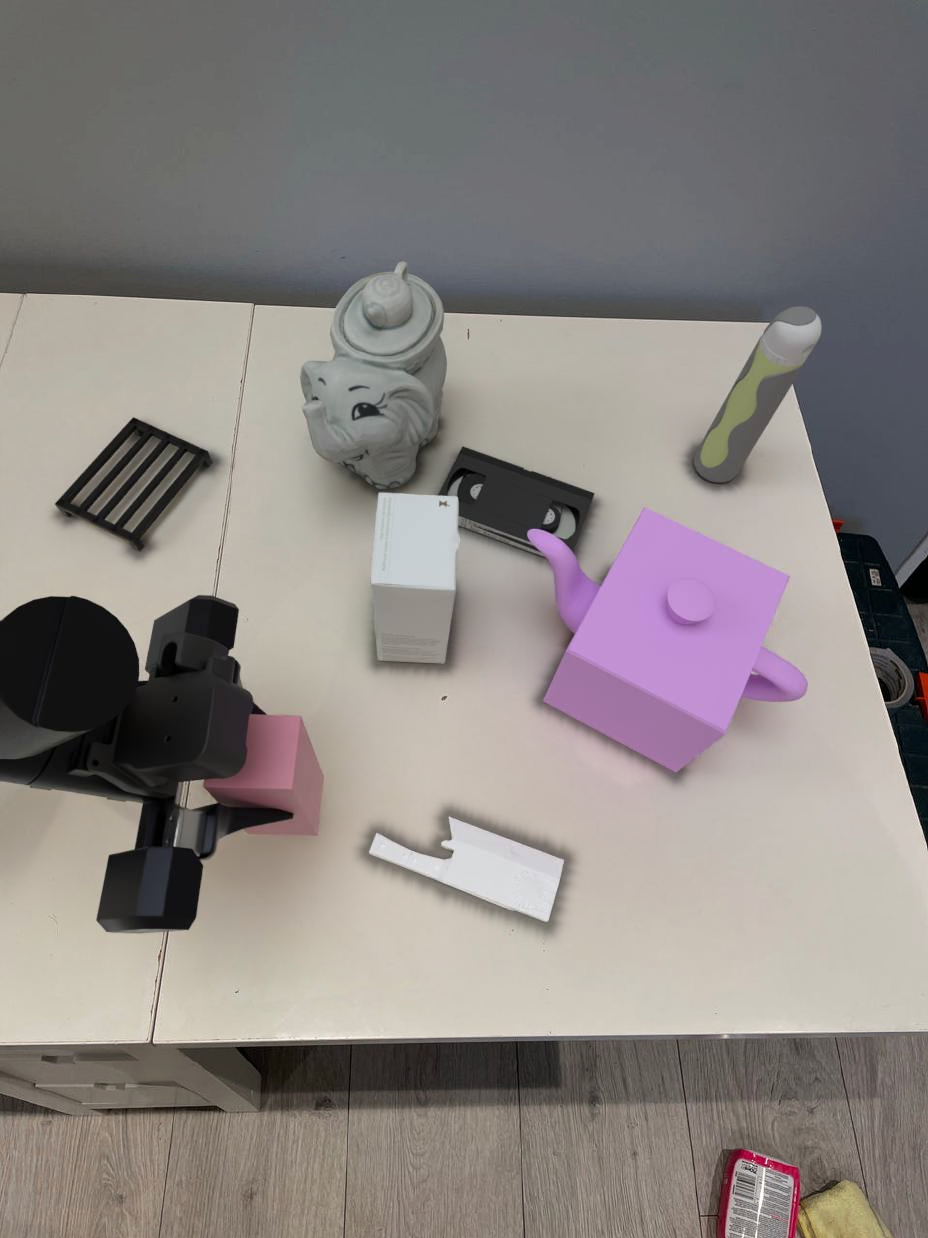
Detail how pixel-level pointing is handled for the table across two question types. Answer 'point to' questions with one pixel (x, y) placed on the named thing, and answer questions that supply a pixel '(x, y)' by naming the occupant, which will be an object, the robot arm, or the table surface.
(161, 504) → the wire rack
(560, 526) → the vhs tape
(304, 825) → the pink box
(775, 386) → the spray bottle
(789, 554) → the table surface
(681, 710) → the teapot
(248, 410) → the table surface
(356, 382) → the elephant cookie jar
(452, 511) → the cosmetic box
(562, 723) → the table surface
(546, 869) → the butcher knife
